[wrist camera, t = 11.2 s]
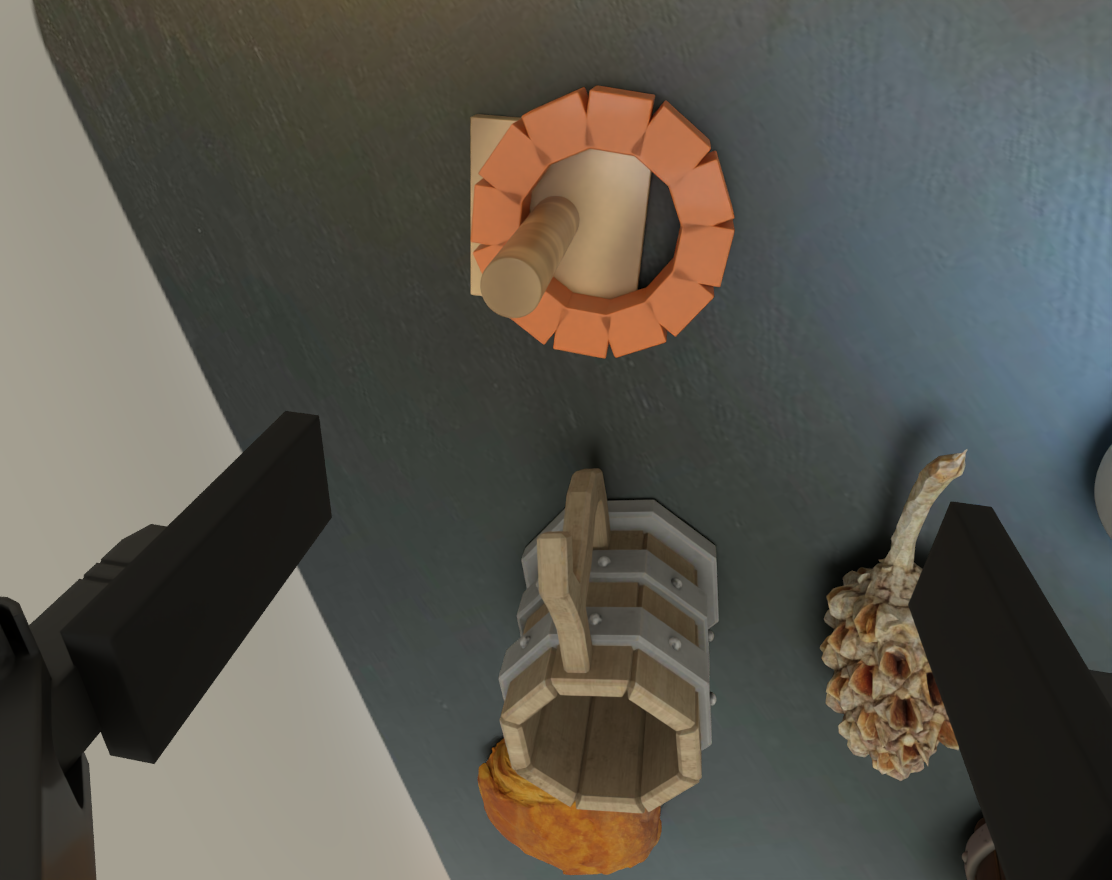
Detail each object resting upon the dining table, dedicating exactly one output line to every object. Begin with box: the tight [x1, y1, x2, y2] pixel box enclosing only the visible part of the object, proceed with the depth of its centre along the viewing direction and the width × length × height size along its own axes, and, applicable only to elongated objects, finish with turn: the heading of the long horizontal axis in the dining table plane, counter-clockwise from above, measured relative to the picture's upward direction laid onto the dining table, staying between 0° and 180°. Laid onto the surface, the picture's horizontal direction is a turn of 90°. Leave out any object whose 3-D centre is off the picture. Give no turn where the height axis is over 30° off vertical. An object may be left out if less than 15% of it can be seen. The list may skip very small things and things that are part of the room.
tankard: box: [499, 468, 719, 813], centre depth 41 cm, size 20×13×15 cm, turn 8°
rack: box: [470, 114, 652, 318], centre depth 33 cm, size 9×9×12 cm
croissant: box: [478, 739, 661, 875], centre depth 58 cm, size 14×16×8 cm
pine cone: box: [820, 450, 967, 781], centre depth 41 cm, size 22×10×10 cm, turn 11°
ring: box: [471, 85, 735, 358], centre depth 36 cm, size 12×12×2 cm
